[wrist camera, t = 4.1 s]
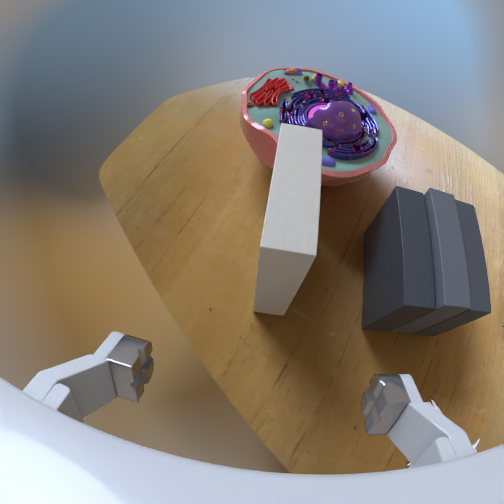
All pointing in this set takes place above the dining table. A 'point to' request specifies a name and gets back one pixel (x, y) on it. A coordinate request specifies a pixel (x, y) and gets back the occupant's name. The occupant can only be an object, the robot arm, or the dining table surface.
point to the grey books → (423, 265)
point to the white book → (290, 219)
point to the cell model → (318, 121)
